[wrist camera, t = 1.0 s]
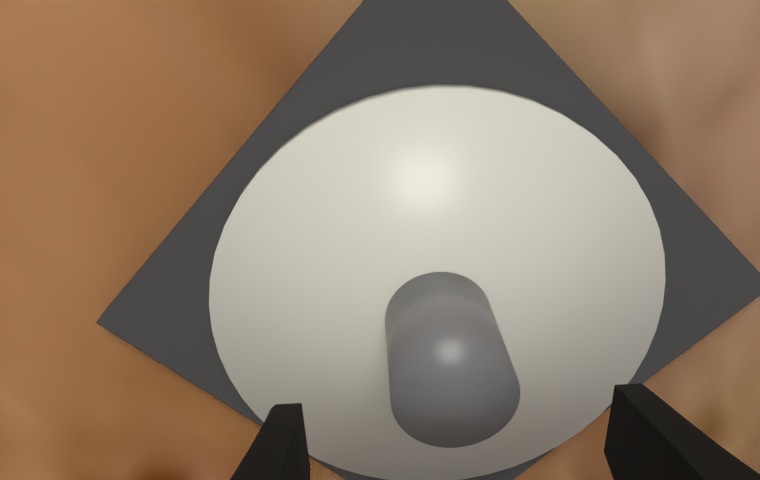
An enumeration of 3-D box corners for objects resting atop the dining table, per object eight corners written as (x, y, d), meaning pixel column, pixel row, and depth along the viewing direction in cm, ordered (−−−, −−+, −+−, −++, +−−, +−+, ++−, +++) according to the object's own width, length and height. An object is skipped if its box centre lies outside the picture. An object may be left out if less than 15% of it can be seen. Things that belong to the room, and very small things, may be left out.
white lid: (740, 287, 19) (843, 376, 15) (436, 518, 23) (453, 637, 19) (432, -34, 14) (460, -31, 10) (127, 321, 18) (63, 421, 14)
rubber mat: (760, 277, 19) (772, 286, 19) (435, 523, 24) (436, 536, 23) (429, -79, 14) (432, -80, 14) (103, 312, 19) (96, 322, 18)
